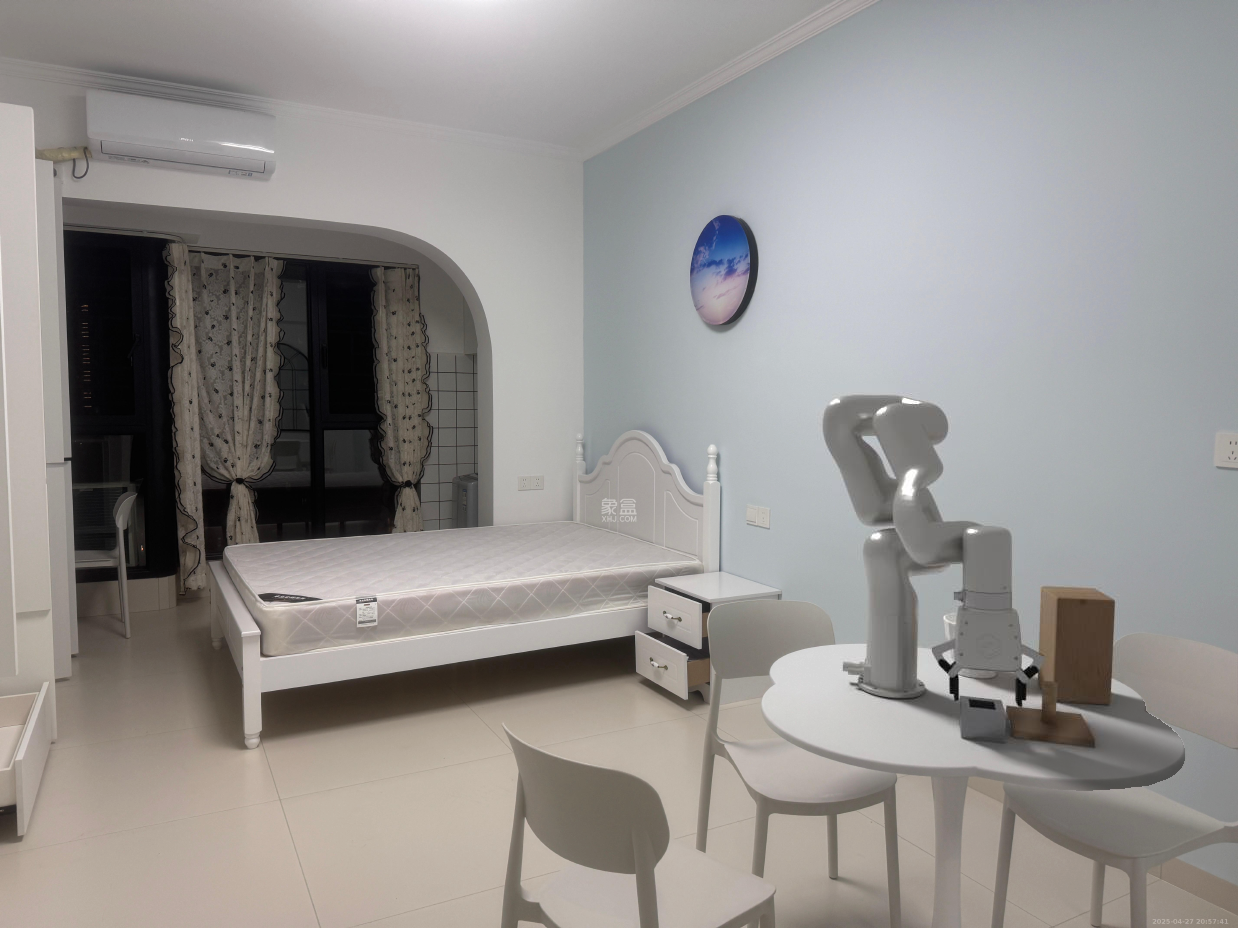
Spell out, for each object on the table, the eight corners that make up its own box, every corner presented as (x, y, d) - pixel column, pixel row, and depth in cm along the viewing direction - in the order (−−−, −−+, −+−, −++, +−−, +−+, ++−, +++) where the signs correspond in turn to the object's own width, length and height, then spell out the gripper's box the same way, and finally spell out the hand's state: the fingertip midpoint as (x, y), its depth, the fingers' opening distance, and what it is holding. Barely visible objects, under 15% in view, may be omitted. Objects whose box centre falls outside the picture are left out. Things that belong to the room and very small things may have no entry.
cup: (936, 660, 177) (937, 610, 176) (997, 664, 174) (999, 613, 173) (948, 679, 164) (949, 626, 164) (1014, 683, 162) (1016, 629, 161)
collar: (961, 737, 136) (962, 708, 135) (959, 723, 142) (959, 695, 142) (1004, 743, 133) (1005, 713, 133) (1000, 728, 140) (1001, 699, 139)
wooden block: (1111, 705, 150) (1116, 599, 149) (1052, 702, 152) (1056, 597, 151) (1091, 687, 160) (1095, 587, 158) (1036, 684, 162) (1040, 585, 160)
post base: (1013, 736, 136) (1015, 690, 135) (1006, 711, 147) (1007, 668, 147) (1095, 747, 132) (1097, 699, 131) (1080, 720, 143) (1082, 676, 143)
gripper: (932, 601, 135) (932, 703, 136) (1048, 607, 129) (1048, 713, 130) (931, 593, 142) (931, 690, 143) (1041, 598, 136) (1041, 699, 137)
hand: (987, 701), depth 136 cm, fingers open, 9 cm apart
